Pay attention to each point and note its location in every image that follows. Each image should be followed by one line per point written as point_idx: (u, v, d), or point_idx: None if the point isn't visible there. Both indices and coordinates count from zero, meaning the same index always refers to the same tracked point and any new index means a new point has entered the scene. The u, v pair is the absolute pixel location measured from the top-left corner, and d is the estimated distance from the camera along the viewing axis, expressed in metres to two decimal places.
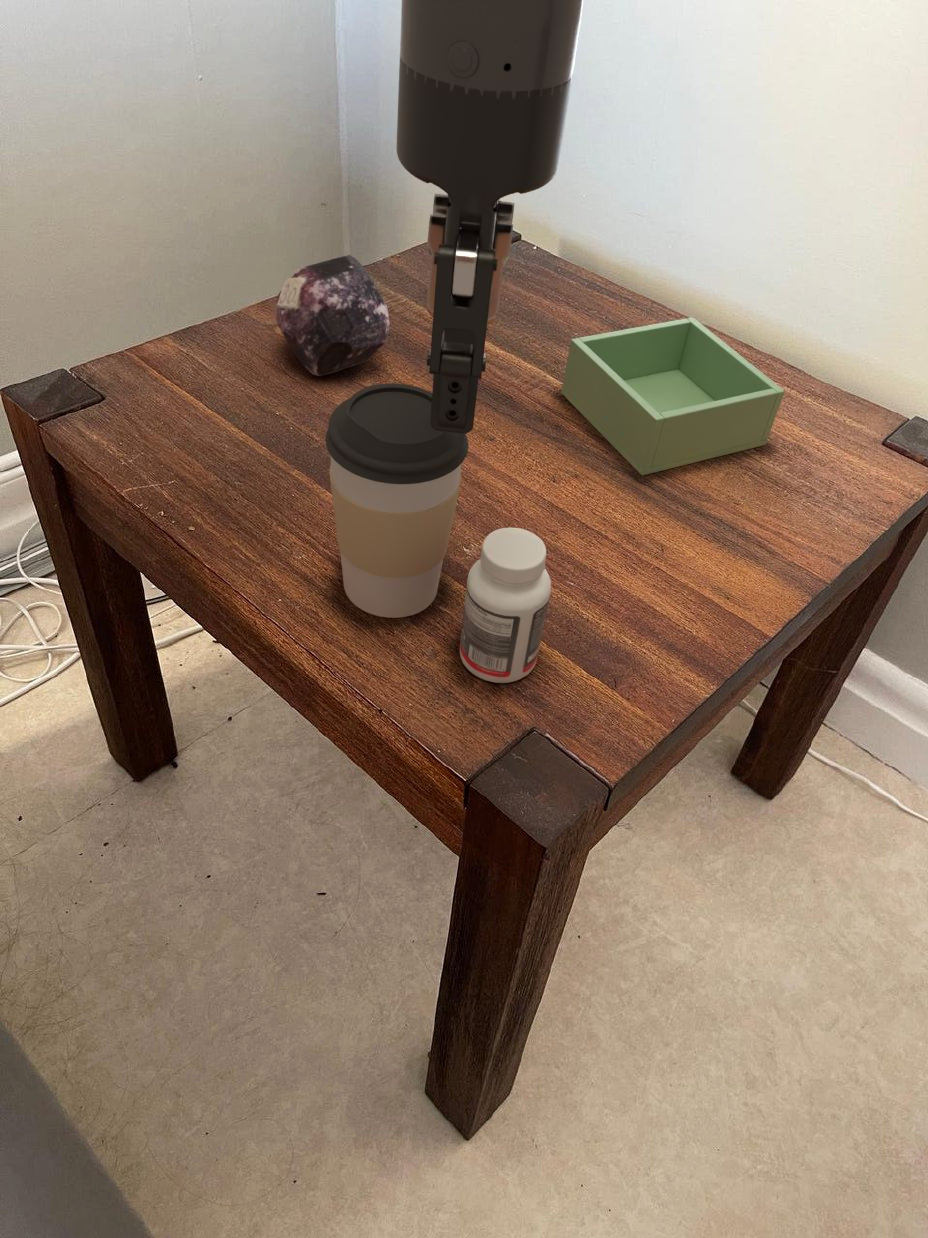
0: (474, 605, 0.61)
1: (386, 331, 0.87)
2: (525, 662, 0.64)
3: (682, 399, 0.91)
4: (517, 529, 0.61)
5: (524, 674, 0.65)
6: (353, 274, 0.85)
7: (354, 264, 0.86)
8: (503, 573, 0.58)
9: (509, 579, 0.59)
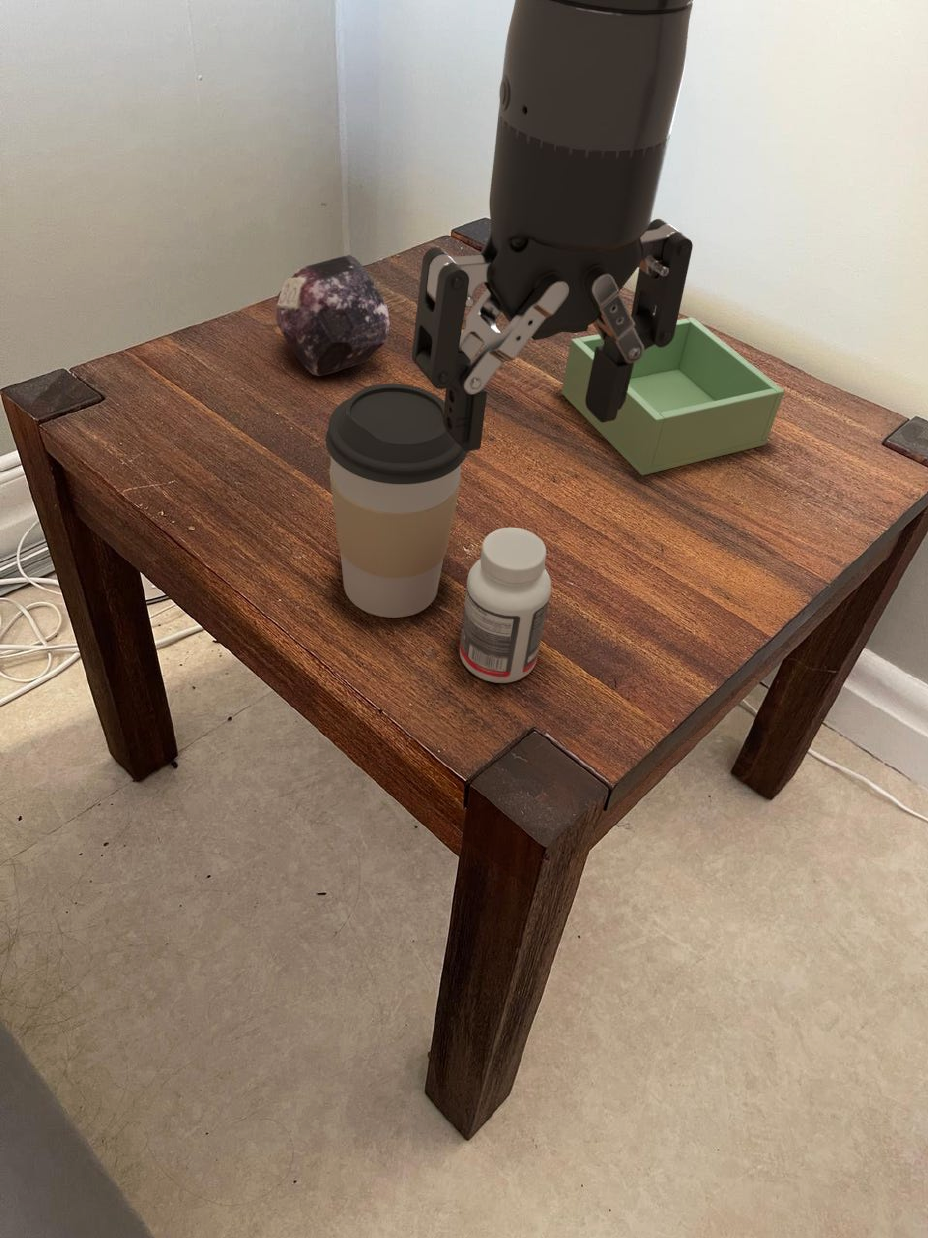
0: (474, 605, 0.61)
1: (386, 331, 0.87)
2: (525, 662, 0.64)
3: (682, 399, 0.91)
4: (517, 529, 0.61)
5: (524, 674, 0.65)
6: (353, 274, 0.85)
7: (354, 264, 0.86)
8: (503, 573, 0.58)
9: (509, 579, 0.59)
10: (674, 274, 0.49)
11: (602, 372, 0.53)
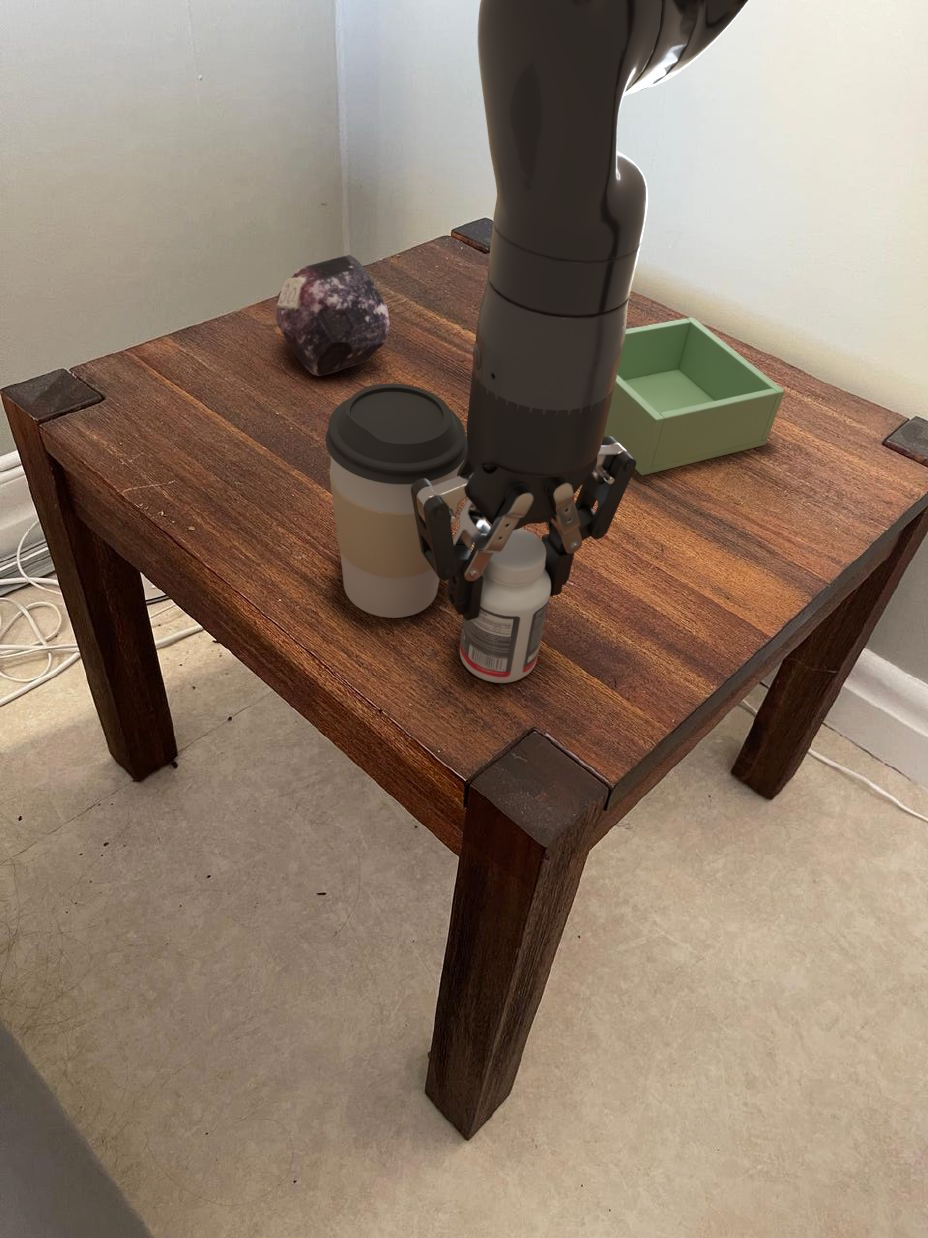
0: None
1: (386, 331, 0.87)
2: (525, 662, 0.64)
3: (682, 399, 0.91)
4: (517, 529, 0.61)
5: (524, 674, 0.65)
6: (353, 274, 0.85)
7: (354, 264, 0.86)
8: (503, 573, 0.58)
9: (509, 579, 0.59)
10: (617, 484, 0.58)
11: (548, 557, 0.62)
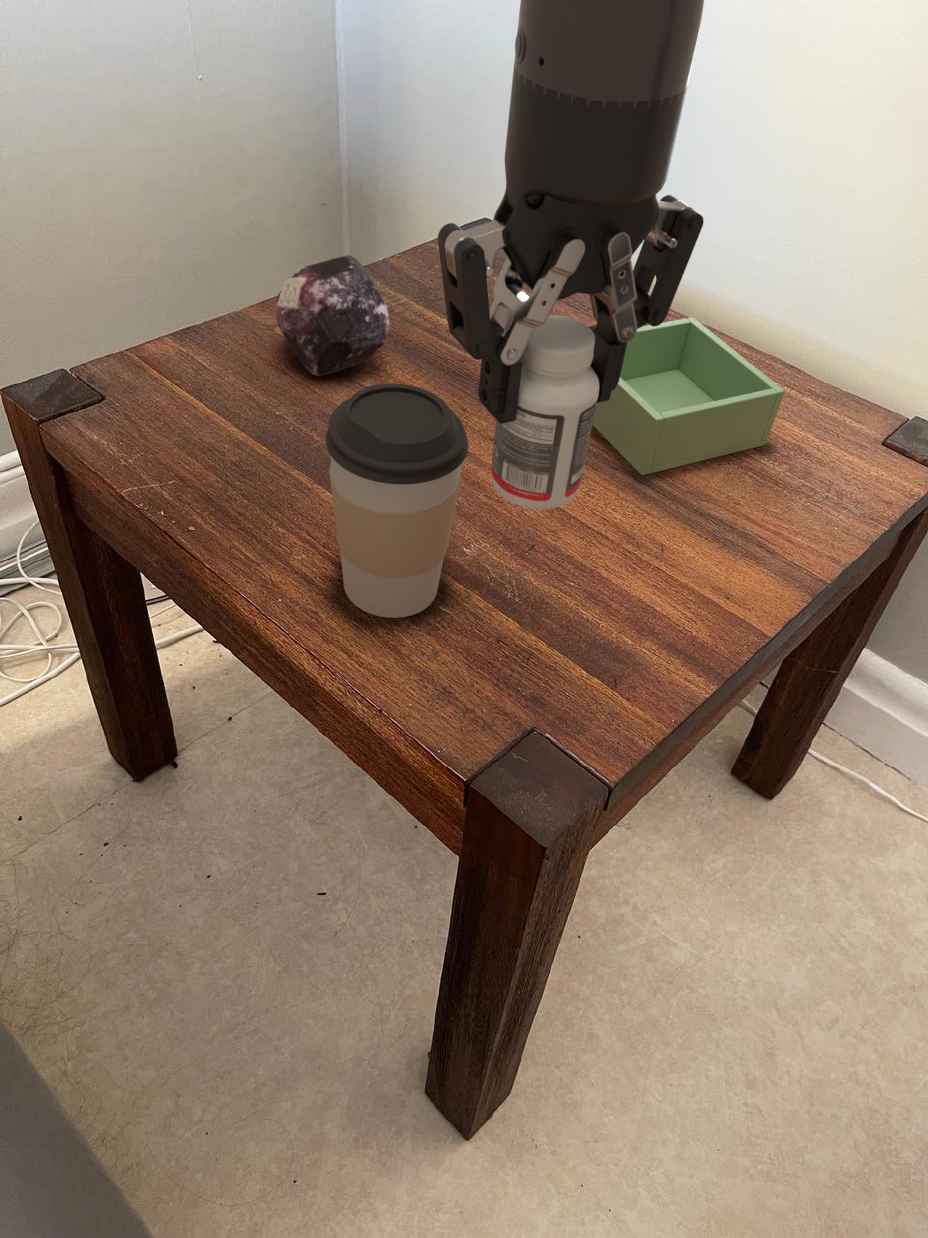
0: None
1: (386, 331, 0.87)
2: (568, 482, 0.55)
3: (682, 399, 0.91)
4: (559, 316, 0.52)
5: (566, 499, 0.56)
6: (353, 274, 0.85)
7: (354, 264, 0.86)
8: (546, 359, 0.49)
9: (552, 366, 0.50)
10: (681, 249, 0.49)
11: (595, 352, 0.53)
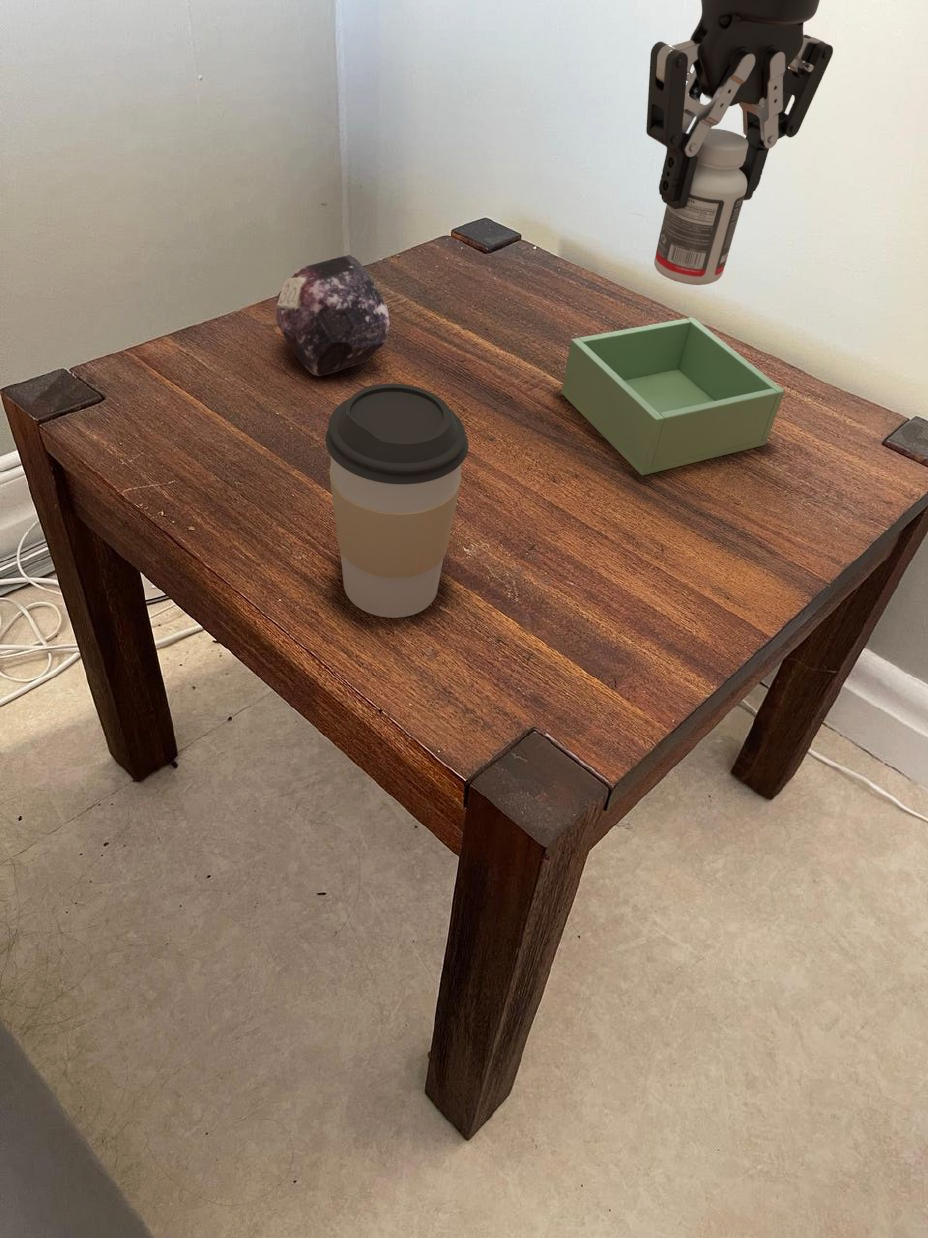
0: None
1: (386, 331, 0.87)
2: (719, 261, 0.72)
3: (682, 399, 0.91)
4: (719, 129, 0.70)
5: (715, 277, 0.73)
6: (353, 274, 0.85)
7: (354, 264, 0.86)
8: (714, 154, 0.67)
9: (719, 160, 0.67)
10: (815, 73, 0.67)
11: None
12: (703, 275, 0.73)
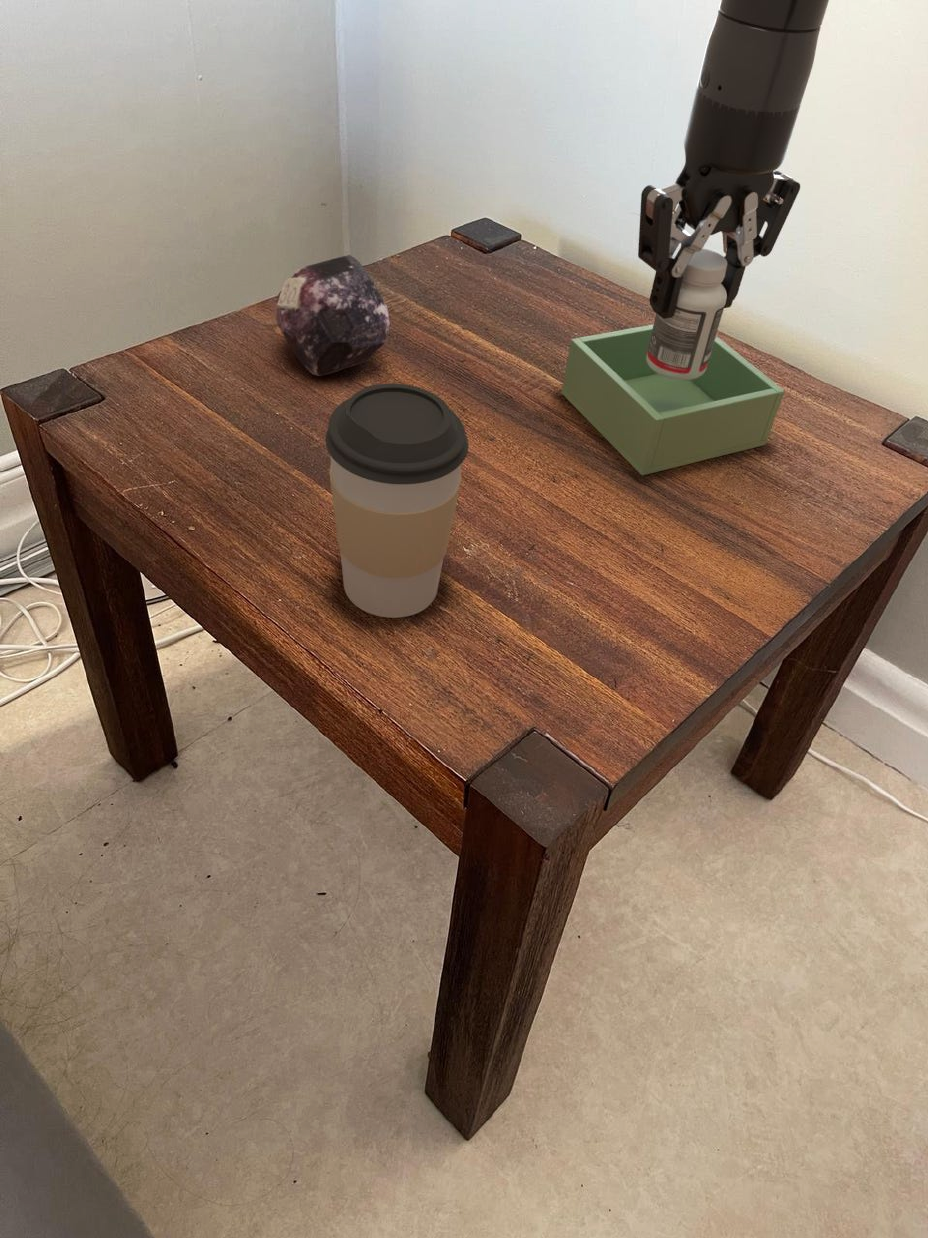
0: None
1: (386, 331, 0.87)
2: (702, 361, 0.83)
3: (682, 399, 0.91)
4: (702, 249, 0.80)
5: (699, 373, 0.84)
6: (353, 274, 0.85)
7: (354, 264, 0.86)
8: (697, 273, 0.77)
9: (701, 279, 0.78)
10: (785, 205, 0.77)
11: None
12: (688, 372, 0.83)
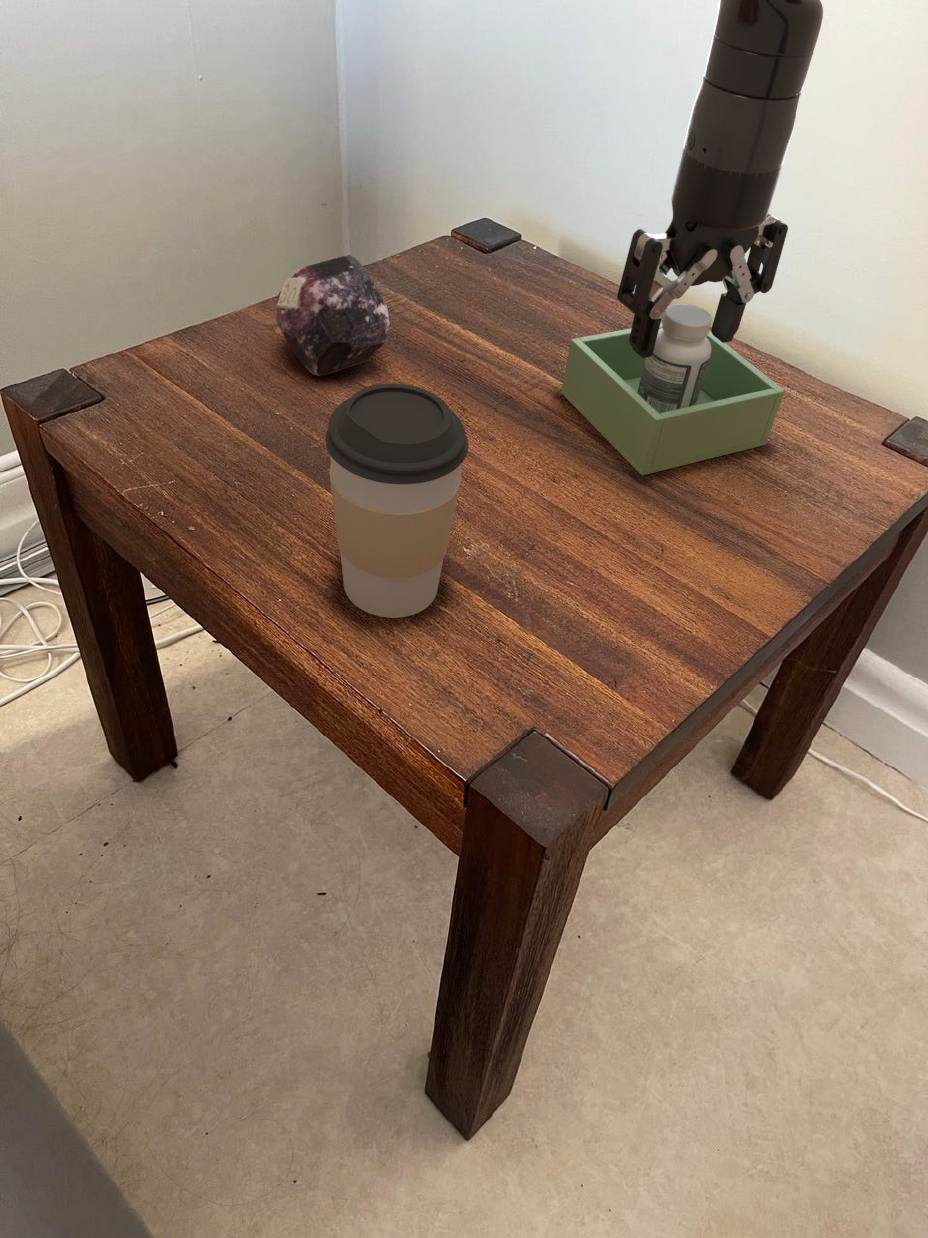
0: (656, 359, 0.83)
1: (386, 331, 0.87)
2: None
3: None
4: (688, 304, 0.83)
5: None
6: (353, 274, 0.85)
7: (354, 264, 0.86)
8: (683, 329, 0.81)
9: (686, 334, 0.81)
10: (776, 246, 0.80)
11: (725, 309, 0.84)
12: None
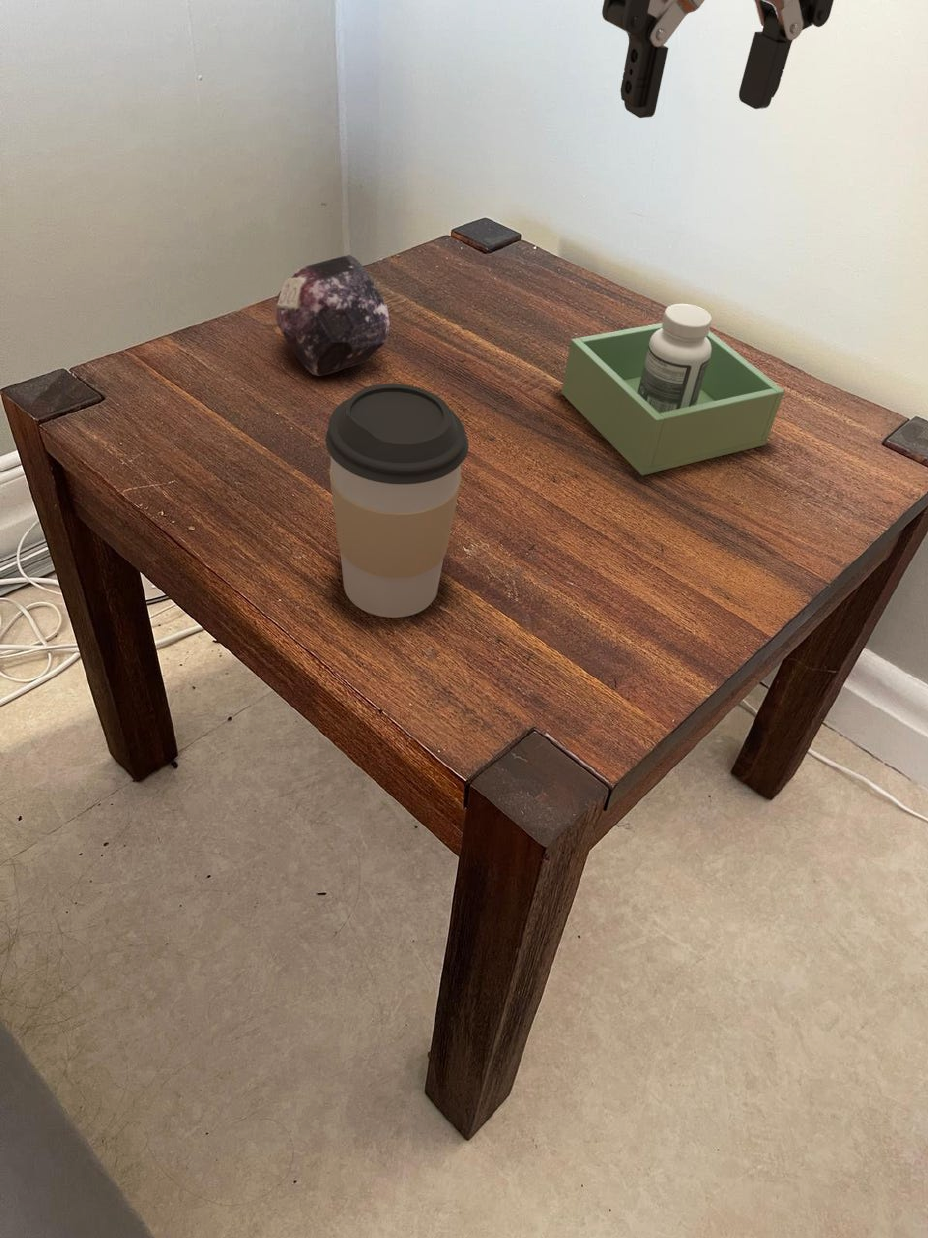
0: (656, 359, 0.83)
1: (386, 331, 0.87)
2: None
3: None
4: (688, 304, 0.83)
5: None
6: (353, 274, 0.85)
7: (354, 264, 0.86)
8: (683, 329, 0.81)
9: (686, 334, 0.81)
10: None
11: (760, 55, 0.58)
12: None
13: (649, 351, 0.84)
